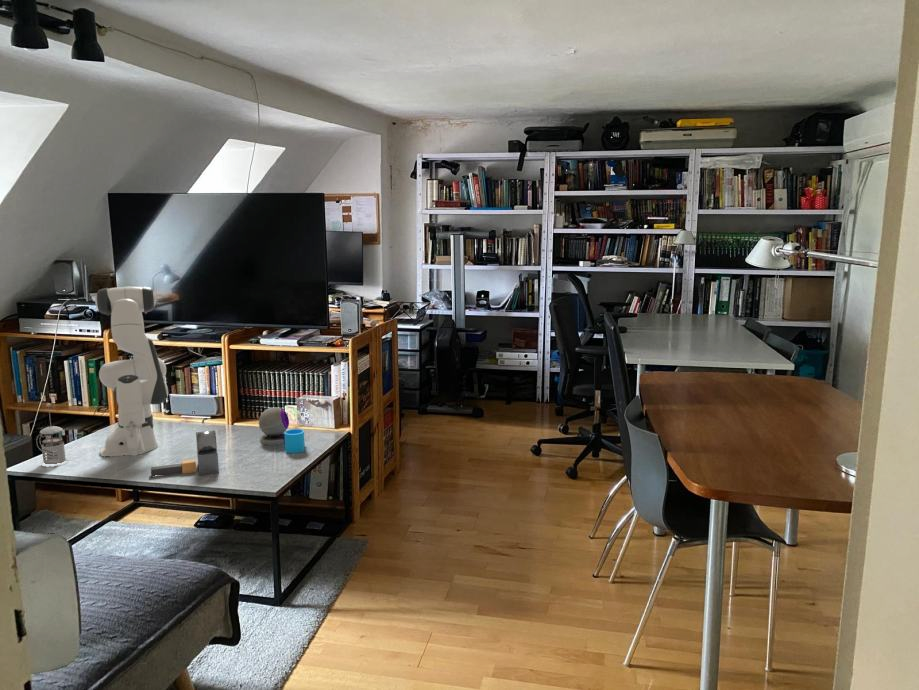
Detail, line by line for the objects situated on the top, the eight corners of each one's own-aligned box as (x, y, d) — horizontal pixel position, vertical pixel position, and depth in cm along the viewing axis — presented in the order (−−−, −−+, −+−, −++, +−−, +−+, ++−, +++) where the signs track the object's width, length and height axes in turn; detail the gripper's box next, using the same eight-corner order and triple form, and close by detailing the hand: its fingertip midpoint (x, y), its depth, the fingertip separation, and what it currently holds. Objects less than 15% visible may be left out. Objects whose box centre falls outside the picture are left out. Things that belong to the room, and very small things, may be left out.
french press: (56, 468, 273) (49, 407, 268) (31, 466, 275) (23, 405, 270) (74, 459, 282) (68, 400, 278) (49, 458, 284) (43, 399, 280)
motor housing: (199, 475, 264) (196, 437, 261) (198, 463, 277) (195, 427, 274) (218, 472, 267) (216, 435, 264) (216, 461, 279) (213, 425, 277)
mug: (299, 454, 288) (298, 435, 287) (281, 452, 290) (280, 434, 289) (311, 445, 300) (311, 427, 298) (294, 443, 301) (293, 425, 300)
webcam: (286, 444, 301) (284, 411, 298) (256, 445, 300) (254, 411, 297) (292, 435, 313) (290, 403, 311) (263, 436, 313) (261, 404, 310)
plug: (151, 477, 262) (150, 467, 261) (151, 474, 266) (150, 464, 265) (196, 471, 268) (195, 461, 267) (195, 468, 272) (195, 458, 271)
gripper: (140, 424, 249) (143, 461, 251) (141, 411, 268) (145, 446, 270) (121, 426, 247) (124, 463, 249) (123, 413, 265) (127, 448, 268)
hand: (135, 454), depth 260 cm, fingers closed
